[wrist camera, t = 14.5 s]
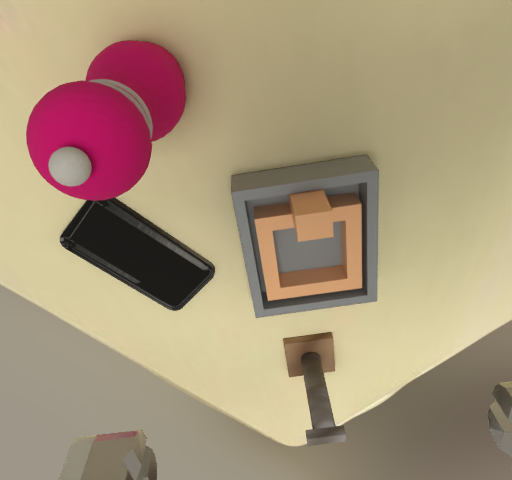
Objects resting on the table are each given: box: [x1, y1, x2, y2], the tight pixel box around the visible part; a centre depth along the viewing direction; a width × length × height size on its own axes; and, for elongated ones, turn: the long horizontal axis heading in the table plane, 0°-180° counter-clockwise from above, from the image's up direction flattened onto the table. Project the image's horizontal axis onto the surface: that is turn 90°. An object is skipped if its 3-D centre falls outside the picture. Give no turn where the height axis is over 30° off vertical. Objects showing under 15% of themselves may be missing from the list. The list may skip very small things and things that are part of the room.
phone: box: [60, 198, 215, 311], centre depth 44 cm, size 8×1×15 cm
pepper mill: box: [26, 41, 186, 201], centre depth 26 cm, size 7×7×20 cm
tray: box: [231, 155, 379, 318], centre depth 42 cm, size 13×15×4 cm
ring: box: [254, 189, 362, 301], centre depth 39 cm, size 10×12×7 cm
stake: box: [283, 332, 346, 446], centre depth 48 cm, size 6×6×12 cm
